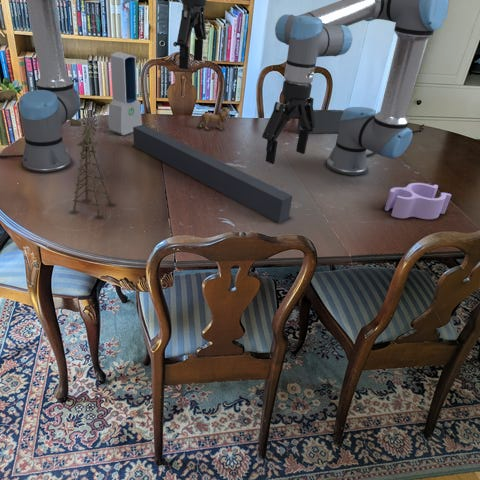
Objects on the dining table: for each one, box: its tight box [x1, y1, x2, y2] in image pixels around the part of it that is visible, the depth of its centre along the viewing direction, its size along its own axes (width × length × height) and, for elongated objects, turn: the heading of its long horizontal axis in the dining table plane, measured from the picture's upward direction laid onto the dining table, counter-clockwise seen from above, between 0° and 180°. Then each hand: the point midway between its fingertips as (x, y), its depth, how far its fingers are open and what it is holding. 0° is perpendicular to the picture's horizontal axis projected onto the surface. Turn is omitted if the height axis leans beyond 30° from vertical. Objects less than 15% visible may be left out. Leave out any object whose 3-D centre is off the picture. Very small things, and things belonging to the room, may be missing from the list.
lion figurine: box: [196, 107, 231, 131], centre depth 201 cm, size 15×5×9 cm, turn 110°
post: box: [132, 124, 293, 224], centre depth 160 cm, size 72×5×8 cm, turn 47°
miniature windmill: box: [69, 107, 112, 218], centre depth 129 cm, size 9×8×30 cm
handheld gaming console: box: [296, 109, 345, 134], centre depth 210 cm, size 23×3×10 cm, turn 108°
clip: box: [384, 182, 452, 220], centre depth 153 cm, size 20×12×7 cm, turn 109°
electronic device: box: [107, 51, 143, 136], centre depth 184 cm, size 12×8×30 cm, turn 148°
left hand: (190, 64), depth 151 cm, fingers open, 13 cm apart
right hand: (285, 157), depth 133 cm, fingers open, 13 cm apart
